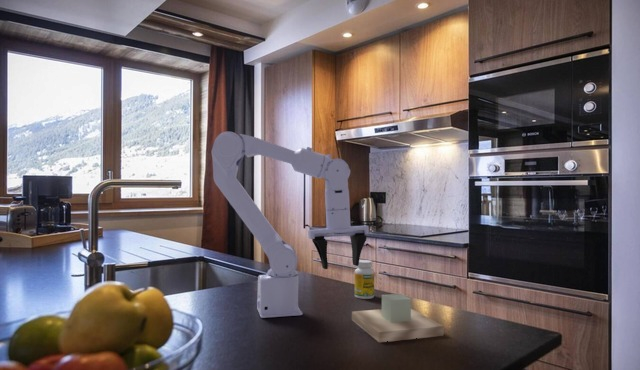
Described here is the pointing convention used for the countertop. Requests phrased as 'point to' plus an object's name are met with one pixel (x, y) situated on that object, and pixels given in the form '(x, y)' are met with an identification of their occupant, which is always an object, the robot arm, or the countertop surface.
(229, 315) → the countertop surface
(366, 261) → the supplement bottle
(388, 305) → the sage cube
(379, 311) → the birch block
